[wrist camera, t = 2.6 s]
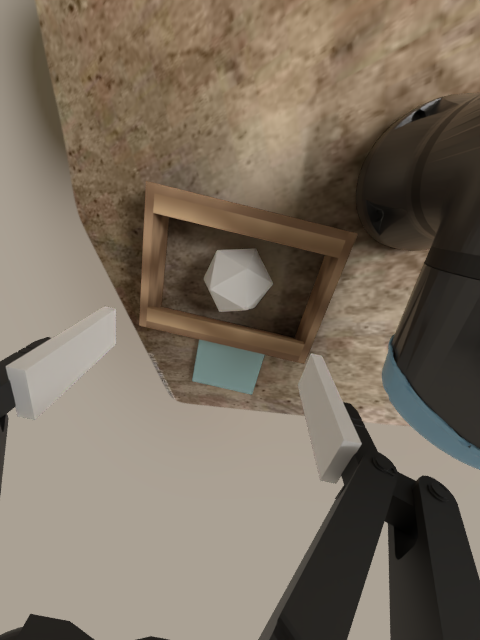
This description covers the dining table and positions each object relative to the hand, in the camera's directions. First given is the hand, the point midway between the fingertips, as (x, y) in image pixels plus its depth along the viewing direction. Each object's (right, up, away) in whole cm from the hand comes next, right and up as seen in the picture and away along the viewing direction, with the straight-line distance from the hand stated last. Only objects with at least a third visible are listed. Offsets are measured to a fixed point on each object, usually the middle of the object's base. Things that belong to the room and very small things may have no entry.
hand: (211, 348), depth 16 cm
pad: (0, -5, +25) cm, 26 cm away
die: (+2, +9, +19) cm, 21 cm away
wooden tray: (+2, +9, +19) cm, 21 cm away
